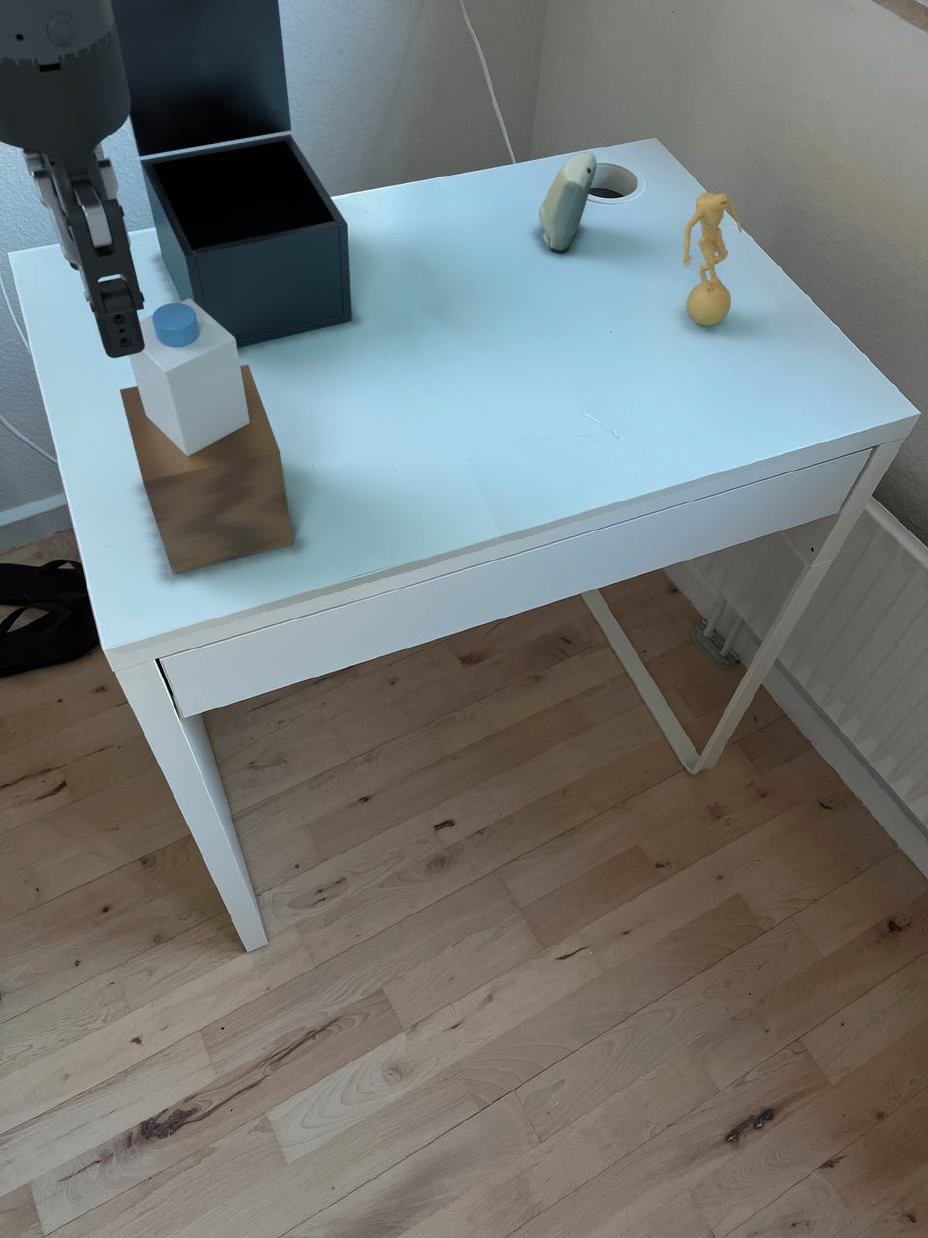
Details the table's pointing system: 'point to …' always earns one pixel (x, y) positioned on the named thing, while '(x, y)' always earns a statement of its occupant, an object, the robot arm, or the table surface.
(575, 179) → the grey-green elongated block
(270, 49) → the lid
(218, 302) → the black open box
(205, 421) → the white box
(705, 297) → the figurine
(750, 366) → the table surface
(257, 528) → the brown box
